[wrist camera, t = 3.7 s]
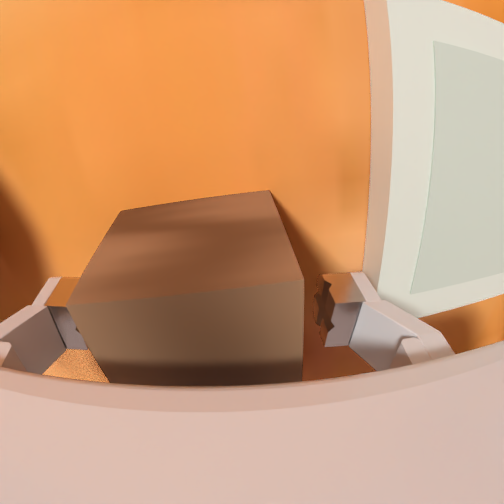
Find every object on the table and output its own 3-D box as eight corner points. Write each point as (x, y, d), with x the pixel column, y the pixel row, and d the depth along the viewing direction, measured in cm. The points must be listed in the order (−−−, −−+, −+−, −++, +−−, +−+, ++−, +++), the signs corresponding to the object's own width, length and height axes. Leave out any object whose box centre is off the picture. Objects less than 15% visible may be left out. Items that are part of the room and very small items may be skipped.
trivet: (357, 305, 13) (370, 330, 12) (363, -5, 7) (385, -15, 6) (528, 265, 14) (543, 280, 12) (560, 62, 7) (582, 68, 6)
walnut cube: (156, 320, 13) (139, 424, 9) (121, 209, 10) (65, 305, 6) (276, 306, 13) (300, 412, 9) (268, 189, 10) (304, 279, 6)
